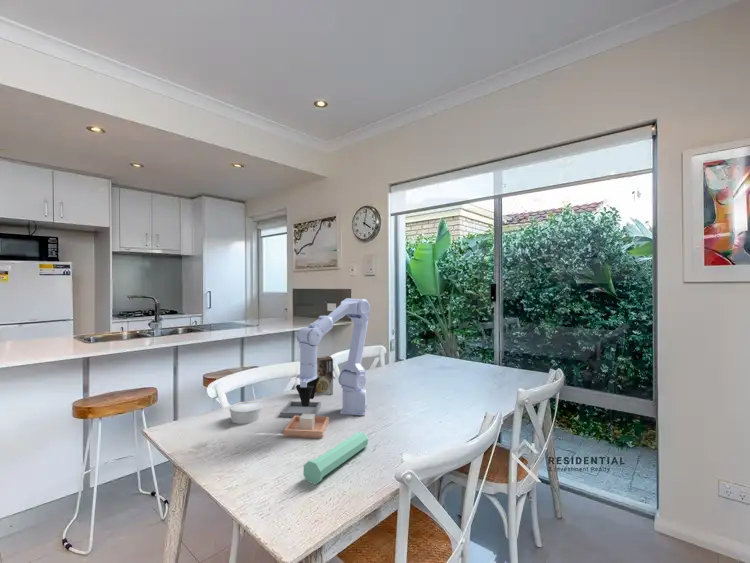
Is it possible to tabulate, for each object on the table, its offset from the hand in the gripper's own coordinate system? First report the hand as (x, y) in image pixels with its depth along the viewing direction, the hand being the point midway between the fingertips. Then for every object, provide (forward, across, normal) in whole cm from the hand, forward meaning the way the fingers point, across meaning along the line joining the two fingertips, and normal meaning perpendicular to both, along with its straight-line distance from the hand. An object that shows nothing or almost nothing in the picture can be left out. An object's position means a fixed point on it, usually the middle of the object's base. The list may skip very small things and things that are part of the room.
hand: (308, 402), depth 124 cm
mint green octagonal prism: (+10, +21, +14) cm, 27 cm away
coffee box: (+10, -39, -3) cm, 40 cm away
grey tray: (+9, -15, -6) cm, 19 cm away
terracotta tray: (+9, 0, 0) cm, 9 cm away
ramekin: (+10, -6, -24) cm, 27 cm away
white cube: (+9, 0, 0) cm, 9 cm away
